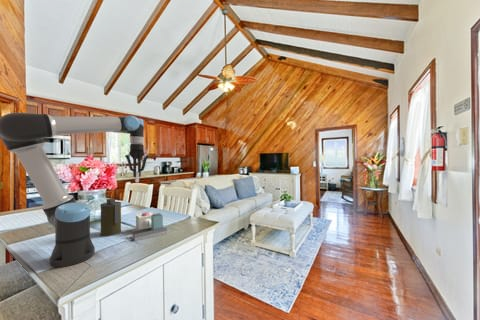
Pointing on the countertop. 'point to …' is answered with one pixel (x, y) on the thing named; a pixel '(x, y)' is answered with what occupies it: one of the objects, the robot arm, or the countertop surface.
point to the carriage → (156, 221)
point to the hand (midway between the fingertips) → (137, 182)
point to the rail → (147, 233)
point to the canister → (110, 218)
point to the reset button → (145, 214)
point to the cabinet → (143, 221)
